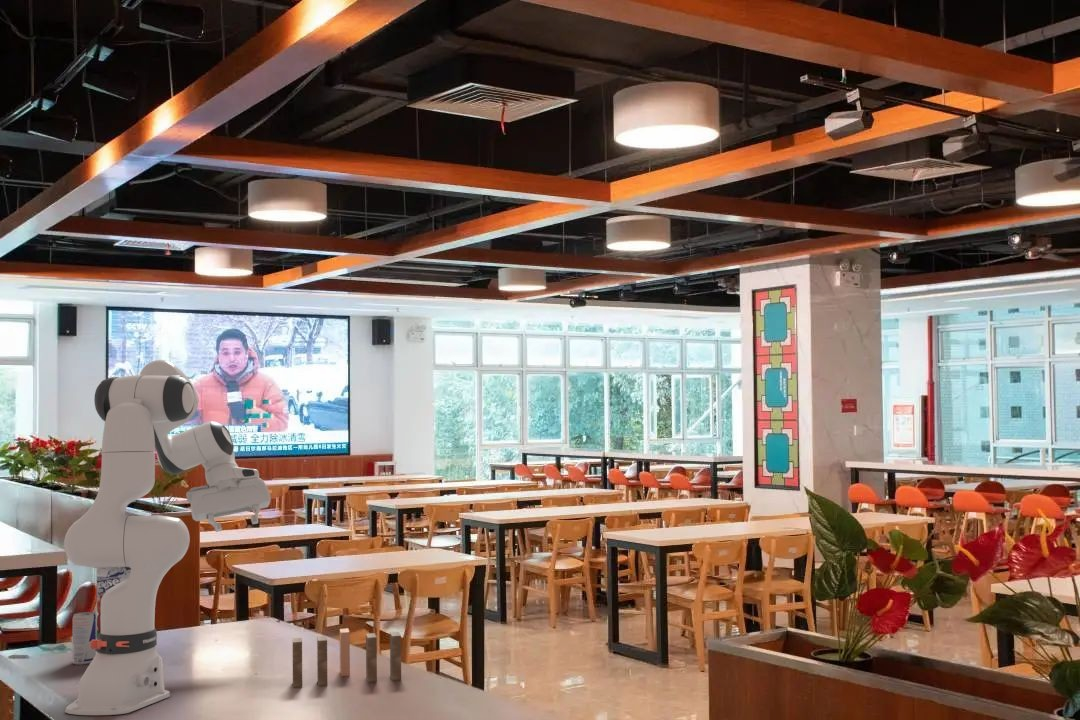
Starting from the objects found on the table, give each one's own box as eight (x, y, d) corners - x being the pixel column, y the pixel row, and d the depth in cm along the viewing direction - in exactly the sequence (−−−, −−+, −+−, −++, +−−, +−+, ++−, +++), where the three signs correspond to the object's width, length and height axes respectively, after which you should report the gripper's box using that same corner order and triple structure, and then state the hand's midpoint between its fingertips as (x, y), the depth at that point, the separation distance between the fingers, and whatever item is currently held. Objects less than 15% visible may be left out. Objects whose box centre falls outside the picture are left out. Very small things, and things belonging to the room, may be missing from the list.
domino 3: (341, 676, 259) (340, 632, 260) (339, 671, 264) (339, 628, 264) (349, 675, 260) (349, 632, 260) (348, 671, 264) (348, 628, 265)
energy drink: (99, 660, 281) (99, 611, 282) (88, 664, 276) (89, 615, 277) (79, 660, 282) (79, 611, 283) (68, 664, 277) (68, 615, 277)
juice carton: (123, 647, 297) (123, 544, 299) (145, 651, 291) (145, 546, 292) (92, 652, 290) (92, 547, 292) (113, 657, 284) (114, 550, 285)
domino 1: (293, 687, 249) (292, 642, 249) (292, 682, 254) (292, 638, 254) (302, 687, 249) (302, 641, 250) (301, 682, 254) (301, 637, 255)
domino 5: (392, 680, 254) (392, 636, 255) (390, 676, 259) (389, 632, 259) (401, 680, 255) (400, 635, 255) (399, 675, 259) (398, 631, 260)
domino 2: (318, 686, 250) (318, 640, 251) (317, 681, 255) (317, 636, 255) (327, 685, 251) (327, 640, 251) (326, 680, 255) (326, 636, 256)
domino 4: (368, 682, 253) (367, 637, 253) (366, 677, 257) (365, 633, 258) (377, 681, 253) (376, 637, 254) (375, 677, 258) (374, 633, 258)
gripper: (184, 483, 290) (196, 528, 283) (263, 468, 299) (277, 512, 292) (183, 495, 295) (195, 541, 288) (261, 481, 304) (274, 524, 297)
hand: (237, 526), depth 290 cm, fingers open, 8 cm apart
